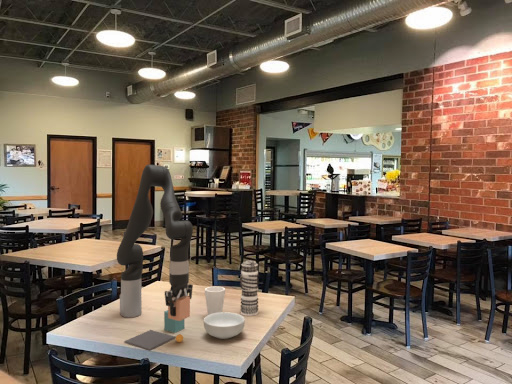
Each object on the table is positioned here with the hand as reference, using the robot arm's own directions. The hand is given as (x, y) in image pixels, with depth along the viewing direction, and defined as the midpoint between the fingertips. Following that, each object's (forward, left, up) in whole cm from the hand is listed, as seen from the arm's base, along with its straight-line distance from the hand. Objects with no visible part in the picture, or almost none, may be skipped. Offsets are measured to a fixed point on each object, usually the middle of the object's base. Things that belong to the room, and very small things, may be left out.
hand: (179, 313), depth 162 cm
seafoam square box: (-11, +9, -12) cm, 18 cm away
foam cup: (-6, +31, -12) cm, 34 cm away
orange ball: (0, 0, -12) cm, 12 cm away
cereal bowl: (+11, +15, -12) cm, 22 cm away
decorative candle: (+5, +44, -12) cm, 46 cm away
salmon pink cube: (0, 0, -2) cm, 2 cm away
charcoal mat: (-11, -5, -12) cm, 17 cm away
